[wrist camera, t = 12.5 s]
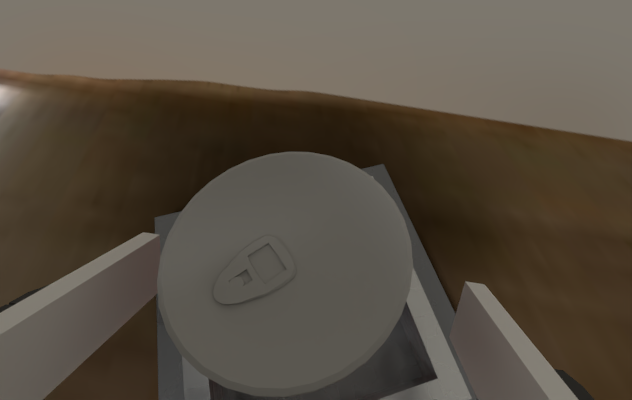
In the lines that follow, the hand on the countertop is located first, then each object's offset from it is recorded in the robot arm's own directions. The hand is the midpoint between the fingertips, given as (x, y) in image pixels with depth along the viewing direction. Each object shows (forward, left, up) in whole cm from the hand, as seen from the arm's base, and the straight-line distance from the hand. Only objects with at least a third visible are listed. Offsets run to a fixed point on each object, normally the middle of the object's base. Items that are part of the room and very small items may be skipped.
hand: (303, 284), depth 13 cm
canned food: (0, 0, -7) cm, 7 cm away
